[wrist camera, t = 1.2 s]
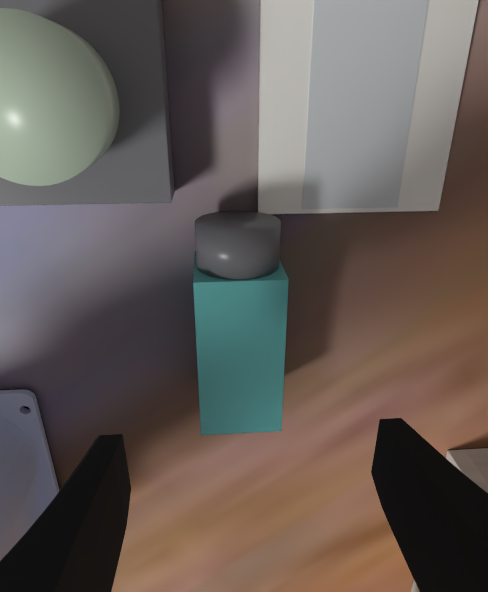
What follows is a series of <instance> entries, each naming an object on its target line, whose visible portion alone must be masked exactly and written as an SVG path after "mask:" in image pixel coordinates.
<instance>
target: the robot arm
mask: <svg viewBox="0 0 488 592" xmlns="http://www.w3.org/2000/svg"><path fill="white" fill-rule="evenodd" d="M23 406H27V407H29V408H30V409H26V408H24V407H23ZM371 473H372V477H373V480H374V483H375V487H376V490H377V493H378V496H379V499H380V502H381V505H382V508H383V511H384V513H385V515H386V518H387V520H388V522H389V524H390V527H391V529H392V531H393V534H394V536H395V538H396V540H397V542H398V545H399V547H400V549H401V551H402V554H403V556H404V558H405V560H406V562H407V565H408V567H409V569H410V571H411V574H412V576H413V578H414V580H415V582H416V585H417V587H418V589H419V592H488V493H487V492H486V491H485V490H483V489H482V488H481V487H479V486H478V485H477V484H476V483H474V482H473V481H472V480H471V479H470V478H468V477H467V476H466V475H465V474H463V473H462V472H461V471H460V470H459V469H458V468H456V467H455V466H454V465H453V464H452V463H451V462H449V461H448V460H447V459H446V458H445V457H444V456H443V455H441V454H440V453H439V452H438V451H437V450H436V449H435V448H434V447H432V446H431V445H430V444H429V443H428V442H427V441H426V440H425V439H424V438H422V437H421V436H420V435H419V434H418V433H417V432H416V431H415V430H414V429H413V428H411V427H410V426H409V425H408V424H407V423H406V422H405V421H404V420H402V419H401V418H394V419H380V422H379V428H378V434H377V440H376V446H375V453H374V459H373V465H372V471H371ZM130 492H131V485H130V479H129V473H128V467H127V460H126V454H125V448H124V442H123V435H122V434H117V435H100V436H99V437H98V438H97V439H96V440H95V441H94V443H93V444H92V446H91V447H90V449H89V450H88V452H87V453H86V455H85V456H84V458H83V459H82V461H81V462H80V464H79V465H78V466H77V468H76V469H75V471H74V472H73V473H72V475H71V476H70V478H69V479H68V480H67V482H66V483H65V484H64V486H63V487H62V488H61V490H60V491H59V487H58V483H57V479H56V475H55V471H54V467H53V463H52V459H51V455H50V451H49V447H48V443H47V439H46V435H45V431H44V427H43V423H42V419H41V415H40V411H39V407H38V403H37V399H36V396H35V394H34V393H33V392H31V391H29V390H24V389H22V390H1V391H0V592H111V590H112V586H113V582H114V577H115V573H116V569H117V565H118V560H119V556H120V552H121V548H122V543H123V539H124V535H125V530H126V525H127V517H128V510H129V501H130Z"/></svg>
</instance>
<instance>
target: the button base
mask: <svg viewBox="0 0 488 592" xmlns="http://www.w3.org/2000/svg"><path fill="white" fill-rule="evenodd" d="M0 8H11V9H19V10H23V11H27V12H31V13H33V14H36V15H39V16H41V17H43V18H46V19H48V20H50V21H53V22H55V23H57V24H59V25H62V26H64V27H66V28H68V29H70V30H71V31H73V32H75V33H76V34H78V35H79V36H81V37H82V38H83V39H84V40H86V41H87V42H88V43H89V44H90V45H91V46H92V47H93V48H94V49H95V50H96V51H97V52H98V54H99V55H100V56H101V58H102V59H103V61H104V62H105V64H106V65H107V67H108V69H109V71H110V73H111V75H112V77H113V80H114V82H115V86H116V89H117V93H118V98H119V110H120V113H119V123H118V128H117V132H116V135H115V137H114V140H113V142H112V144H111V146H110V147H109V149H108V150H107V151H106V153H105V154H104V155H103V156H102V157H101V158H100V159H99V160H98V161H97V162H95V163H94V164H93V165H91V166H90V167H88V168H87V169H85V170H84V171H82V172H81V173H79V174H78V175H76V176H74V177H72V178H71V179H69V180H66V181H64V182H61V183H58V184H53V185H47V186H29V185H23V184H18V183H15V182H11V181H8V180H6V179H3V178H1V177H0V206H12V205H66V204H120V203H171V202H172V198H173V195H174V192H175V189H174V174H173V159H172V145H171V130H170V115H169V100H168V85H167V70H166V55H165V41H164V26H163V11H162V0H0Z"/></svg>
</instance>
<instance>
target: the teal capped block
mask: <svg viewBox="0 0 488 592" xmlns="http://www.w3.org/2000/svg"><path fill="white" fill-rule="evenodd" d="M280 237H281V220H280V219H279V218H277V217H275V216H273V215H270V214H266V213H261V212H254V211H222V212H215V213H210V214H206V215H203V216H201V217H199V218H197V219H196V220H195V238H196V251H195V262H194V278H193V289H194V308H195V328H196V347H197V367H198V386H199V406H200V425H201V435H216V434H234V433H253V432H271V431H281V426H282V405H283V385H284V365H285V345H286V325H287V304H288V284H289V279H288V277H287V275H286V272H285V270H284V268H283V266H282V263H281V261H280Z"/></svg>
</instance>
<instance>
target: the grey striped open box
mask: <svg viewBox="0 0 488 592" xmlns="http://www.w3.org/2000/svg"><path fill="white" fill-rule="evenodd" d="M446 459H447V460H448V461H449V462H451V463H452V464H453V465H454V466H455V467H456V468H458V469H459V470H460V471H461V472H462V473H463V474H465V475H466V476H467V477H468V478H470V479H471V480H472V481H473V482H474V483H476V484H477V485H478V486H479V487H481V488H482V489H483V490H485V491H486V492H487V493H488V448H481V449H464V450H448V451H447V455H446ZM411 592H419V589H418V587H417V585H416V582H415V580H414V581H413V585H412V589H411Z"/></svg>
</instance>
